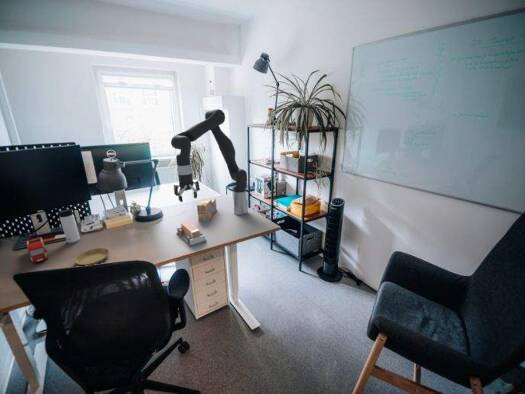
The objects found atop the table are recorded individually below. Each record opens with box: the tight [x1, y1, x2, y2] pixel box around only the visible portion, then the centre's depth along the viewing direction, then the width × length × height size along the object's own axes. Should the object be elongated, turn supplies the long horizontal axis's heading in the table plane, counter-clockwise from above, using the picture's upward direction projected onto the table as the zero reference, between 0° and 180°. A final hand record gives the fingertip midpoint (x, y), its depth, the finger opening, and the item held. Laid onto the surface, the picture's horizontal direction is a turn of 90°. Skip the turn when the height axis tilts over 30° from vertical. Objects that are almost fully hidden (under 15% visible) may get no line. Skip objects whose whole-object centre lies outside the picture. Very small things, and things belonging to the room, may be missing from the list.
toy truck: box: [26, 236, 48, 264], centre depth 129 cm, size 7×21×10 cm, turn 44°
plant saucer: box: [74, 247, 110, 266], centre depth 126 cm, size 15×15×3 cm
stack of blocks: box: [196, 198, 218, 223], centre depth 177 cm, size 21×6×12 cm, turn 172°
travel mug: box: [57, 208, 81, 244], centre depth 141 cm, size 6×7×20 cm
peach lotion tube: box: [180, 221, 201, 239], centre depth 146 cm, size 5×16×6 cm, turn 39°
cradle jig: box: [176, 226, 208, 248], centre depth 147 cm, size 10×20×4 cm, turn 39°
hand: (188, 199), depth 142 cm, fingers open, 8 cm apart
